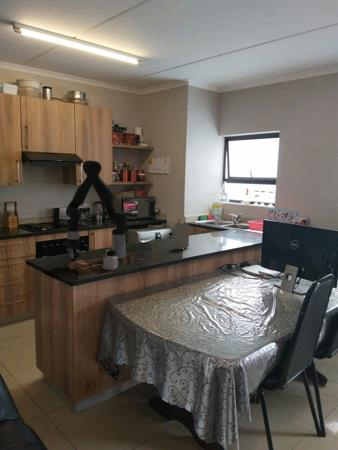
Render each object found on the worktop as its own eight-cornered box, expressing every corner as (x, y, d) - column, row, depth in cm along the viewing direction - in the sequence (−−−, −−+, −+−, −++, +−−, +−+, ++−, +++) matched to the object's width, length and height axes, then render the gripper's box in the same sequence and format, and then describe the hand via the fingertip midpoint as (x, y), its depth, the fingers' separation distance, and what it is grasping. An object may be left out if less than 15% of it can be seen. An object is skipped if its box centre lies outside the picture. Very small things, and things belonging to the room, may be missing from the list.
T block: (81, 265, 233) (81, 259, 233) (92, 268, 227) (92, 262, 226) (68, 268, 226) (68, 262, 225) (79, 271, 219) (79, 265, 218)
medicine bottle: (117, 267, 232) (118, 249, 230) (113, 270, 225) (113, 251, 223) (107, 266, 233) (107, 248, 231) (103, 269, 226) (103, 250, 225)
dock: (93, 266, 232) (93, 262, 232) (102, 268, 227) (102, 264, 227) (72, 271, 219) (72, 267, 218) (80, 274, 214) (80, 269, 213)
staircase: (188, 248, 296) (189, 218, 292) (179, 250, 287) (180, 219, 284) (181, 247, 301) (182, 217, 297) (172, 249, 293) (173, 218, 289)
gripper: (84, 238, 227) (84, 264, 230) (71, 235, 235) (71, 261, 238) (74, 240, 221) (75, 267, 224) (62, 237, 229) (62, 263, 232)
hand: (73, 264), depth 231 cm, fingers closed
